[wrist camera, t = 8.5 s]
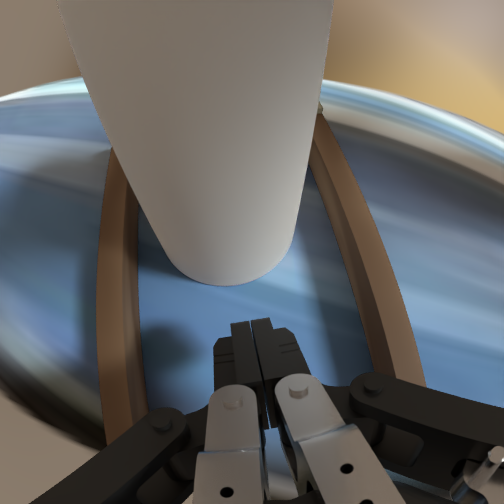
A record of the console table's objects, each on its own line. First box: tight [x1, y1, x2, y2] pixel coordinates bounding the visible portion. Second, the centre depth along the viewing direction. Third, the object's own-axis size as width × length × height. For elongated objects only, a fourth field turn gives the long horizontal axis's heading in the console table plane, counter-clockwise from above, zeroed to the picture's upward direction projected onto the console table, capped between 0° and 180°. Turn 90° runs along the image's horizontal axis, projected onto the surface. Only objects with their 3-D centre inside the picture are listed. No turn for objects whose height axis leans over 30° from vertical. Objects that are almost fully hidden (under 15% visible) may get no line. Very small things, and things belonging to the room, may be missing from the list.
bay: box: [96, 102, 426, 446], centre depth 16 cm, size 15×24×3 cm, turn 10°
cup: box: [56, 0, 334, 286], centre depth 12 cm, size 8×8×16 cm
